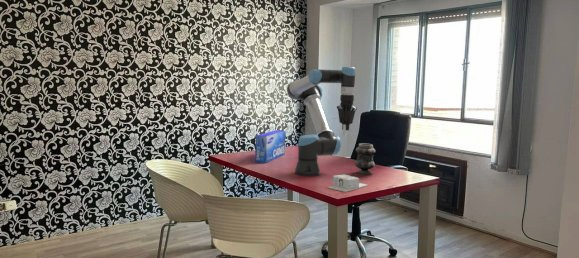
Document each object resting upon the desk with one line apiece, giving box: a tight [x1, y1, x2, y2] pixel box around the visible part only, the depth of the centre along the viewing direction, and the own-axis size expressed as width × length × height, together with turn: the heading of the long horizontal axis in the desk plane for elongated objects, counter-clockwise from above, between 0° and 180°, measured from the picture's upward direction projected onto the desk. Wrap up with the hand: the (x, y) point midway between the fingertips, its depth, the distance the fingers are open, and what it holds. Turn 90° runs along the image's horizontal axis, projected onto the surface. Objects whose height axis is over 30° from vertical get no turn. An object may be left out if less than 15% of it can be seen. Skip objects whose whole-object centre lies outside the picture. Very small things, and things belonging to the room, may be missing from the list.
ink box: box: [332, 173, 360, 189], centre depth 234 cm, size 8×5×12 cm
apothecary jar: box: [354, 142, 376, 176], centre depth 269 cm, size 12×12×18 cm
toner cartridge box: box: [254, 129, 287, 164], centre depth 313 cm, size 39×8×18 cm, turn 161°
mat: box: [327, 182, 368, 193], centre depth 234 cm, size 11×20×1 cm, turn 136°
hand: (345, 135), depth 250 cm, fingers closed
